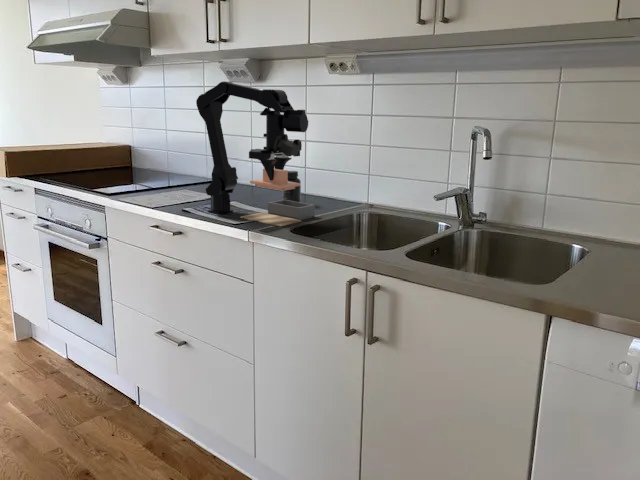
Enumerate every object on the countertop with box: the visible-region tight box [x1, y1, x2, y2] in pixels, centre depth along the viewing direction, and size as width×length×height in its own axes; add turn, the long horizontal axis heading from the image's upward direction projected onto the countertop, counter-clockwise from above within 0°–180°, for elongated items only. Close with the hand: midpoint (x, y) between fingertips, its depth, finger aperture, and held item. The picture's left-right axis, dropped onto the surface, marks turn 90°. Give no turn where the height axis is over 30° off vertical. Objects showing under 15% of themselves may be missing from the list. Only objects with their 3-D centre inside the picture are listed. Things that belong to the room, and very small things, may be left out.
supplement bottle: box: [282, 170, 302, 203], centre depth 208 cm, size 7×7×12 cm
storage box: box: [267, 199, 316, 220], centre depth 187 cm, size 14×8×4 cm, turn 51°
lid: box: [249, 168, 302, 192], centre depth 179 cm, size 14×8×6 cm, turn 53°
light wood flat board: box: [239, 212, 303, 227], centre depth 180 cm, size 18×10×1 cm, turn 51°
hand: (275, 179), depth 179 cm, fingers closed on lid, 3 cm apart
